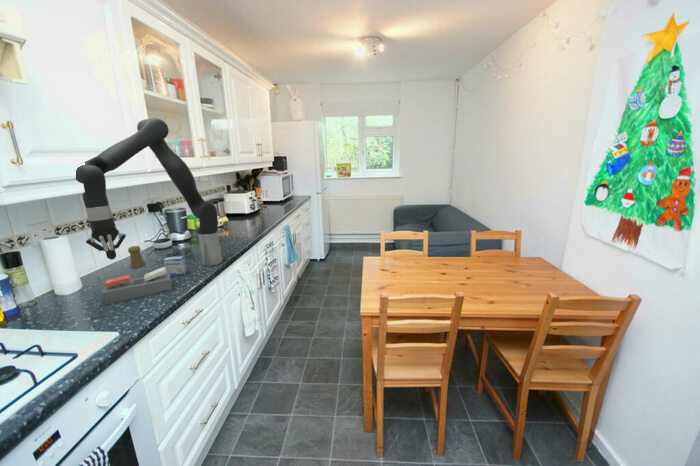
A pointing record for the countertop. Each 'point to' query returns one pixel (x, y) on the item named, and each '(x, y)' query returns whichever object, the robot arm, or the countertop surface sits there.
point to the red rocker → (117, 280)
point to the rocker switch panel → (137, 288)
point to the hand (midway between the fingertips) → (112, 258)
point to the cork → (135, 257)
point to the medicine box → (175, 265)
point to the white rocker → (155, 273)
